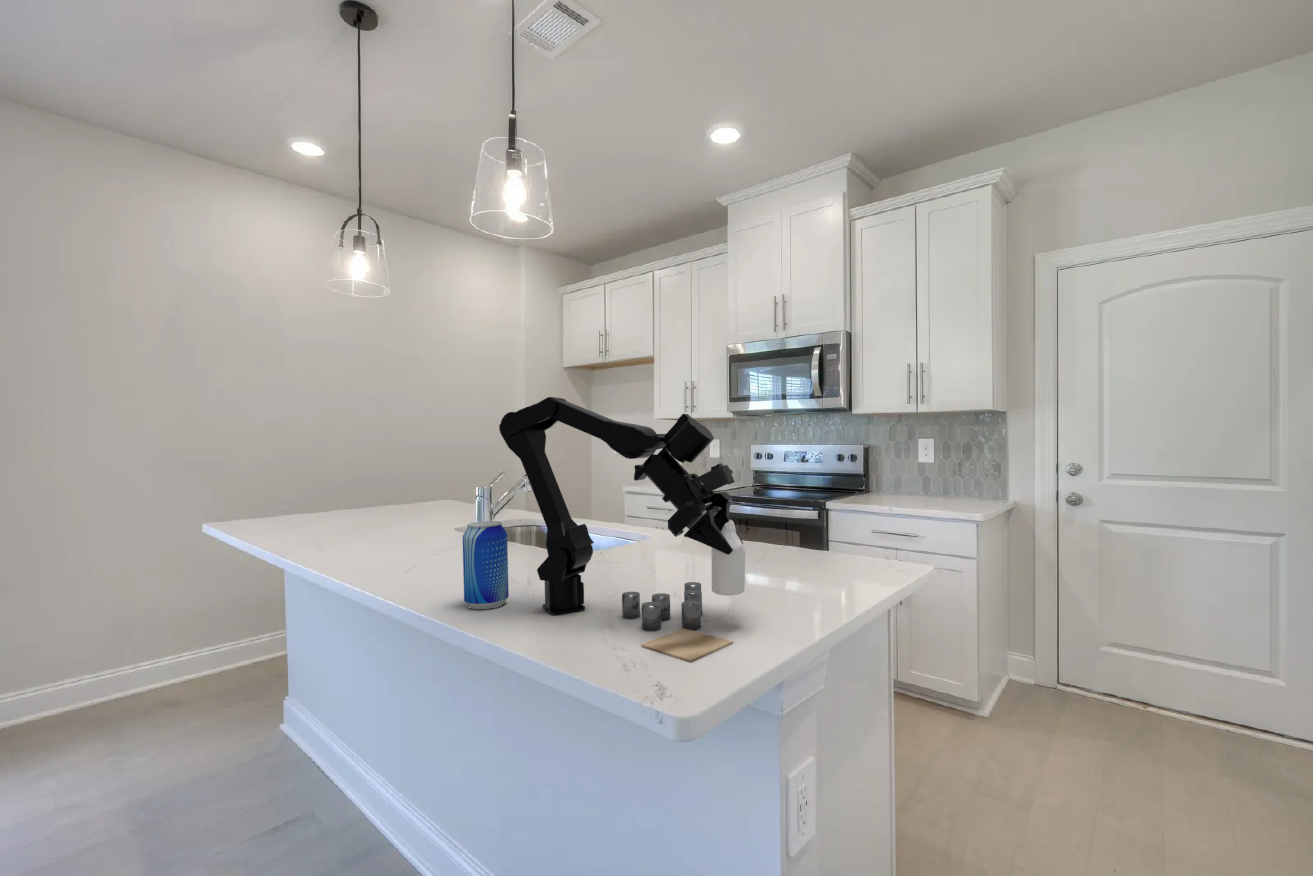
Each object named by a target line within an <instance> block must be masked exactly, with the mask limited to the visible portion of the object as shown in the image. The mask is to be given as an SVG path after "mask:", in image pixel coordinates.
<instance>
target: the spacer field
mask: <svg viewBox="0 0 1313 876" xmlns="http://www.w3.org/2000/svg"><path fill="white" fill-rule="evenodd" d="M683 587H684V588H683V589H684V591H683V600H684V601H682V602H681V603H680V604H681V629H683V628H684V629H688V630H692V631H696V630H700V629H701V628H702V616H703V596H702V595H703V594H702V593H703V592H702V583H700V582H699V581H697V582H696V581H690V582H685V583H684V585H683ZM640 595H641V594H640V592H638V591H625V592H622V594H621V605H622V606H621V608H622V609H621V611H622V612H621V613H622V618H623V619H627V620H633V619H634V620H635V619H638V618H640V617H641V630H643V632H644V631H645V632H657V631H660V630H661V629H662V622H665V621H669V620H671V594H669V593H664V592H663V593H662V592H661V593H660V592H659V593H653V594H652V595H651V601H647V602H643V603H641V596H640Z"/></svg>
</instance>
